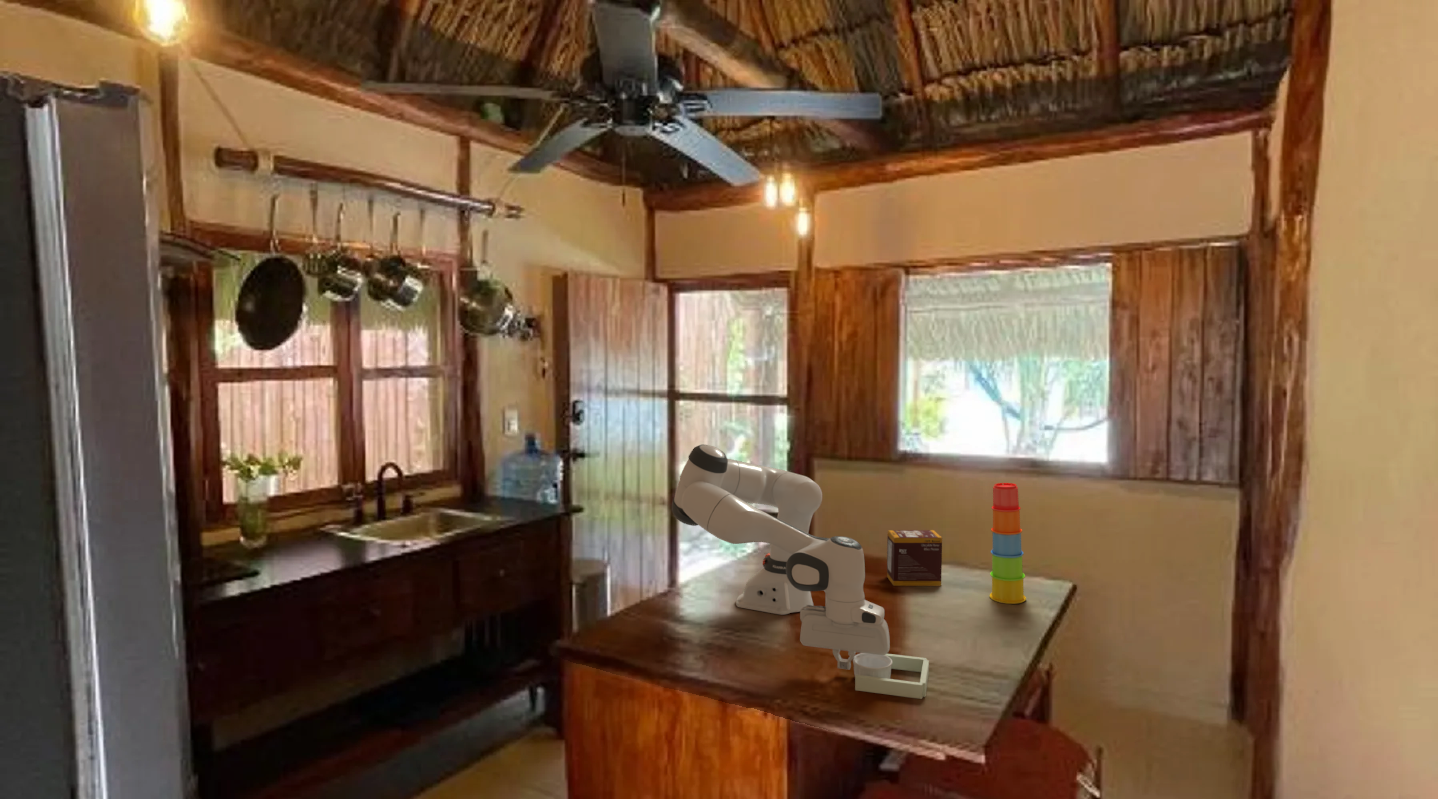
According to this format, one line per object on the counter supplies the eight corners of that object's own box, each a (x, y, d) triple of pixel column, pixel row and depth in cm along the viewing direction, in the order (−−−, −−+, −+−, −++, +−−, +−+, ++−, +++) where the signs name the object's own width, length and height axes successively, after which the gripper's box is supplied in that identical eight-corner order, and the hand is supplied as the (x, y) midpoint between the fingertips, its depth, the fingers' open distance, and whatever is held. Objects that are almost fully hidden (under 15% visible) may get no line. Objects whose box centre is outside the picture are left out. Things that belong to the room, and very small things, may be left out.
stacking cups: (1026, 605, 227) (1029, 487, 224) (989, 602, 230) (991, 485, 228) (1025, 595, 236) (1027, 481, 234) (989, 592, 240) (991, 480, 237)
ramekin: (883, 690, 171) (883, 670, 171) (846, 680, 176) (846, 662, 176) (898, 676, 178) (898, 657, 178) (861, 667, 183) (862, 649, 183)
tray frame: (855, 690, 171) (855, 676, 171) (864, 663, 186) (864, 651, 185) (924, 699, 166) (925, 685, 166) (929, 671, 181) (929, 658, 181)
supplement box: (942, 586, 246) (942, 537, 245) (893, 586, 246) (893, 537, 245) (933, 576, 256) (934, 529, 255) (886, 576, 257) (887, 529, 256)
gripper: (797, 608, 179) (796, 667, 179) (888, 618, 172) (887, 679, 173) (803, 599, 185) (802, 657, 185) (891, 609, 178) (890, 668, 179)
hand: (844, 668), depth 179 cm, fingers closed
